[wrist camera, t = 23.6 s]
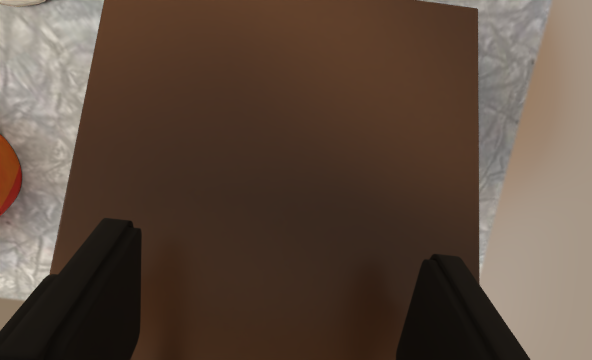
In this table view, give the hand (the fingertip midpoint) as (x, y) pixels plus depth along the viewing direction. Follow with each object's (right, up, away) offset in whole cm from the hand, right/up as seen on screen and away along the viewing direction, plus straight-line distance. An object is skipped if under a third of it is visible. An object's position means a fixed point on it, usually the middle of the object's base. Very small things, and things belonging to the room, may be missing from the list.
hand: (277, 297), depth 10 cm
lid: (0, +2, +3) cm, 4 cm away
